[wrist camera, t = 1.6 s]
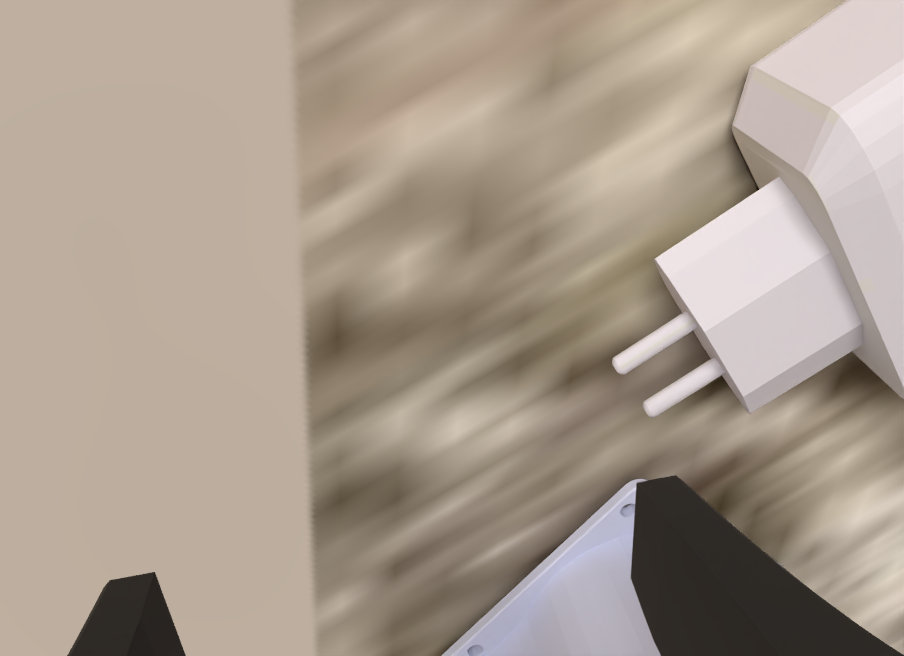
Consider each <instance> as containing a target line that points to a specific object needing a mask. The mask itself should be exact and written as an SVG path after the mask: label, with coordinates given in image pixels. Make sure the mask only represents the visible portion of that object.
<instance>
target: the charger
mask: <svg viewBox="0 0 904 656" xmlns="http://www.w3.org/2000/svg"><path fill="white" fill-rule="evenodd" d="M732 131H733V134H734V137H735V140H736V142H737V144H738V146H739V148H740V150H741V153H742V155H743V157H744V159H745V161H746V163H747V165H748V167H749V169H750V171H751V173H752V175H753V177H754V179H755V182H756V184H757V186H758V188H759V190H758V191H757V192H755V193H753V194H752V195H750V196H749V197H747V198H746V199H744V200H743V201H741V202H740V203H738V204H737V205H735V206H734V207H732V208H731V209H729V210H728V211H726V212H725V213H723V214H722V215H720V216H719V217H717V218H716V219H714V220H713V221H711V222H710V223H708V224H707V225H705V226H704V227H702V228H701V229H699V230H698V231H696V232H695V233H693V234H691V235H690V236H688V237H687V238H685V239H684V240H682V241H681V242H679V243H678V244H676V245H675V246H673V247H672V248H670V249H669V250H667V251H666V252H664V253H663V254H661V255H660V256H658V257H657V258H655V260H654V263H655V265H656V267H657V269H658V271H659V273H660V275H661V277H662V279H663V281H664V283H665V285H666V287H667V289H668V290H669V292H670V294H671V295H672V297H673V299H674V300H675V302H676V303H677V305H678V307H679V308H680V310H681V312H682V314H680V315H679V316H677V317H676V318H674V319H672V320H671V321H669V322H668V323H666V324H665V325H663V326H662V327H660V328H659V329H657V330H655V331H654V332H652V333H651V334H649V335H648V336H646V337H645V338H643V339H641V340H640V341H638V342H637V343H635V344H634V345H632V346H631V347H629V348H628V349H626V350H624V351H623V352H621V353H620V354H618V355H617V356H615V357H614V358H613V360H612V364H613V366H614V368H615V369H616V371H617V372H618V373H620V374H626V373H628V372H629V371H631V370H632V369H634V368H636V367H637V366H639V365H640V364H642V363H643V362H645V361H646V360H648V359H650V358H651V357H653V356H654V355H656V354H657V353H659V352H661V351H662V350H664V349H665V348H667V347H668V346H670V345H671V344H673V343H675V342H676V341H678V340H679V339H681V338H682V337H684V336H685V335H687V334H689V333H690V332H692V331H694V333H695V335H696V336H697V338H698V340H699V341H700V343H701V345H702V346H703V348H704V349H705V351H706V352H707V354H708V355H709V357H710V358H711V359H710V360H708V361H707V362H705V363H704V364H702V365H700V366H699V367H697V368H696V369H694V370H693V371H691V372H689V373H688V374H686V375H685V376H683V377H681V378H680V379H678V380H677V381H675V382H674V383H672V384H670V385H669V386H667V387H666V388H664V389H662V390H661V391H659V392H658V393H656V394H655V395H653V396H651V397H650V398H648V399H647V400H645V401H644V402H643V408H644V410H645V412H646V413H647V415H648V416H650V417H656V416H657V415H659V414H661V413H662V412H664V411H665V410H667V409H669V408H670V407H672V406H673V405H675V404H677V403H678V402H680V401H681V400H683V399H685V398H686V397H688V396H689V395H691V394H693V393H694V392H696V391H697V390H699V389H701V388H702V387H704V386H705V385H707V384H708V383H710V382H712V381H713V380H715V379H716V378H718V377H720V376H721V375H722V376H723V378H724V379H725V381H726V382H727V384H728V385H729V387H730V388H731V390H732V391H733V392H734V394H735V395H736V397H737V398H738V400H739V401H740V402H741V404H742V405H743V407H744V408H745V409H746V411H747V412H748V413H752V412H754V411H755V410H757V409H759V408H760V407H762V406H763V405H765V404H767V403H768V402H770V401H772V400H773V399H775V398H776V397H778V396H780V395H781V394H783V393H785V392H786V391H788V390H789V389H791V388H793V387H794V386H796V385H798V384H799V383H801V382H802V381H804V380H806V379H807V378H809V377H811V376H812V375H814V374H815V373H817V372H819V371H820V370H822V369H824V368H825V367H827V366H828V365H830V364H832V363H833V362H835V361H837V360H838V359H840V358H842V357H843V356H845V355H846V354H848V353H850V352H851V351H852V352H853V353H854V354H855V355H856V356H857V357H858V358H860V359H861V360H862V361H863V362H864V363H865V364H866V365H867V366H868V367H869V368H870V369H871V370H872V371H873V372H874V373H876V374H877V375H878V376H879V377H880V378H881V379H882V380H883V381H884V382H885V383H886V384H887V385H888V386H889V387H891V388H892V389H893V390H894V391H895V392H896V393H897V394H898V395H899V396H900V397H901V398H902V399H904V0H846V1H845V2H843V3H842V4H840V5H839V6H837V7H836V8H835V9H833V10H832V11H830V12H829V13H827V14H826V15H824V16H823V17H821V18H820V19H819V20H817V21H816V22H814V23H813V24H811V25H810V26H808V27H807V28H806V29H804V30H803V31H801V32H800V33H798V34H797V35H795V36H794V37H792V38H791V39H790V40H788V41H787V42H785V43H784V44H782V45H781V46H779V47H778V48H776V49H775V50H774V51H772V52H771V53H769V54H768V55H766V56H765V57H763V58H762V59H761V60H759V61H758V62H756V63H755V64H753V65H752V66H750V69H749V72H748V76H747V79H746V82H745V85H744V89H743V92H742V95H741V98H740V102H739V105H738V108H737V111H736V115H735V118H734V121H733V124H732Z"/></svg>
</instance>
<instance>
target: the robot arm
mask: <svg viewBox="0 0 904 656" xmlns="http://www.w3.org/2000/svg"><path fill="white" fill-rule="evenodd" d="M627 504H630V505H628V506H627V507H624V508H622V507H623V506H625V505H627ZM67 656H185V653H184V650H183V647H182V645H181V642H180V639H179V636H178V634H177V631H176V628H175V626H174V623H173V620H172V618H171V615H170V612H169V610H168V607H167V604H166V602H165V599H164V596H163V593H162V591H161V588H160V585H159V582H158V580H157V577H156V574H155V572H152V573H147V574H142V575H136V576H131V577H126V578H120V579H115V580H110V581H109V582H108V583H107V584H106V586H105V587H104V588H103V590H102V592H101V594H100V596H99V598H98V600H97V602H96V604H95V605H94V608H93V609H92V611H91V613H90V615H89V617H88V619H87V621H86V623H85V624H84V626H83V628H82V630H81V632H80V634H79V636H78V637H77V639H76V641H75V643H74V645H73V647H72V648H71V650H70V652H69V654H68V655H67ZM442 656H904V655H903V654H901V653H900V652H898V651H896V650H895V649H893V648H892V647H890V646H889V645H887V644H885V643H884V642H883V641H881V640H880V639H878V638H877V637H875V636H874V635H872V634H871V633H869V632H868V631H866V630H865V629H864V628H862V627H861V626H859V625H858V624H857V623H855V622H854V621H852V620H851V619H850V618H848V617H847V616H845V615H844V614H843V613H841V612H840V611H839V610H837V609H836V608H835V607H833V606H832V605H831V604H829V603H828V602H826V601H825V600H824V599H822V598H821V597H820V596H818V595H817V594H816V593H815V592H813V591H812V590H811V589H809V588H808V587H807V586H806V585H804V584H803V583H802V582H800V581H799V580H798V579H797V578H795V577H794V576H793V575H792V574H790V573H789V572H788V571H787V570H786V569H784V567H783V566H782V565H781V564H779V563H778V562H776V561H774V560H773V559H772V558H771V557H770V556H768V555H767V554H766V553H765V552H763V551H762V550H761V549H760V548H759V547H757V546H756V545H755V544H754V543H753V542H752V541H750V540H749V539H748V538H747V537H746V536H744V535H743V534H742V533H741V532H740V531H739V530H738V529H736V528H735V527H734V526H733V525H732V524H731V523H729V522H728V521H727V520H726V519H725V518H724V517H723V516H722V515H720V514H719V513H718V512H717V511H716V510H715V509H714V508H712V507H711V506H710V505H709V504H708V503H707V502H706V501H705V500H703V499H702V498H701V497H700V496H699V495H698V494H697V493H696V492H695V491H693V490H692V489H691V488H690V487H689V486H688V485H687V484H686V483H684V482H683V481H682V480H681V479H680V478H678V477H677V476H676V475H675V476H670V477H665V478H659V479H654V480H649V481H648V480H645V479H635V480H632V481H630V482H629V483H627V484H626V485H625V486H624V487H623V488H621V489H620V490H619V491H618V492H617V493H616V494H615V495H614V496H613V497H612V498H611V499H610V500H608V501H607V502H606V503H605V504H604V505H603V506H602V507H601V508H600V509H599V510H598V511H597V512H596V513H594V514H593V515H592V516H591V517H590V518H589V519H588V520H587V521H586V522H585V523H584V524H583V525H582V526H580V527H579V528H578V529H577V530H576V531H575V532H574V533H573V534H572V535H571V536H570V537H569V538H568V539H566V540H565V541H564V542H563V543H562V544H561V545H560V546H559V547H558V548H557V549H556V550H555V551H554V552H552V553H551V554H550V555H549V556H548V557H547V558H546V559H545V560H544V561H543V562H542V563H541V564H539V565H538V566H537V567H536V568H535V569H534V570H533V571H532V572H531V573H530V574H529V575H528V576H527V577H525V578H524V579H523V580H522V581H521V582H520V583H519V584H518V585H517V586H516V587H515V588H514V589H513V590H511V591H510V592H509V593H508V594H507V595H506V596H505V597H504V598H503V599H502V600H501V601H500V602H499V603H497V604H496V605H495V606H494V607H493V608H492V609H491V610H490V611H489V612H488V613H487V614H486V615H484V616H483V617H482V618H481V619H480V620H479V621H478V622H477V623H476V624H475V625H474V626H473V627H472V628H470V629H469V630H468V631H467V632H466V633H465V634H464V635H463V636H462V637H461V638H460V639H459V640H458V641H456V642H455V643H454V644H453V645H452V646H451V647H450V648H449V649H448V650H447V651H446V652H445V653H444V654H442Z"/></svg>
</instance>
